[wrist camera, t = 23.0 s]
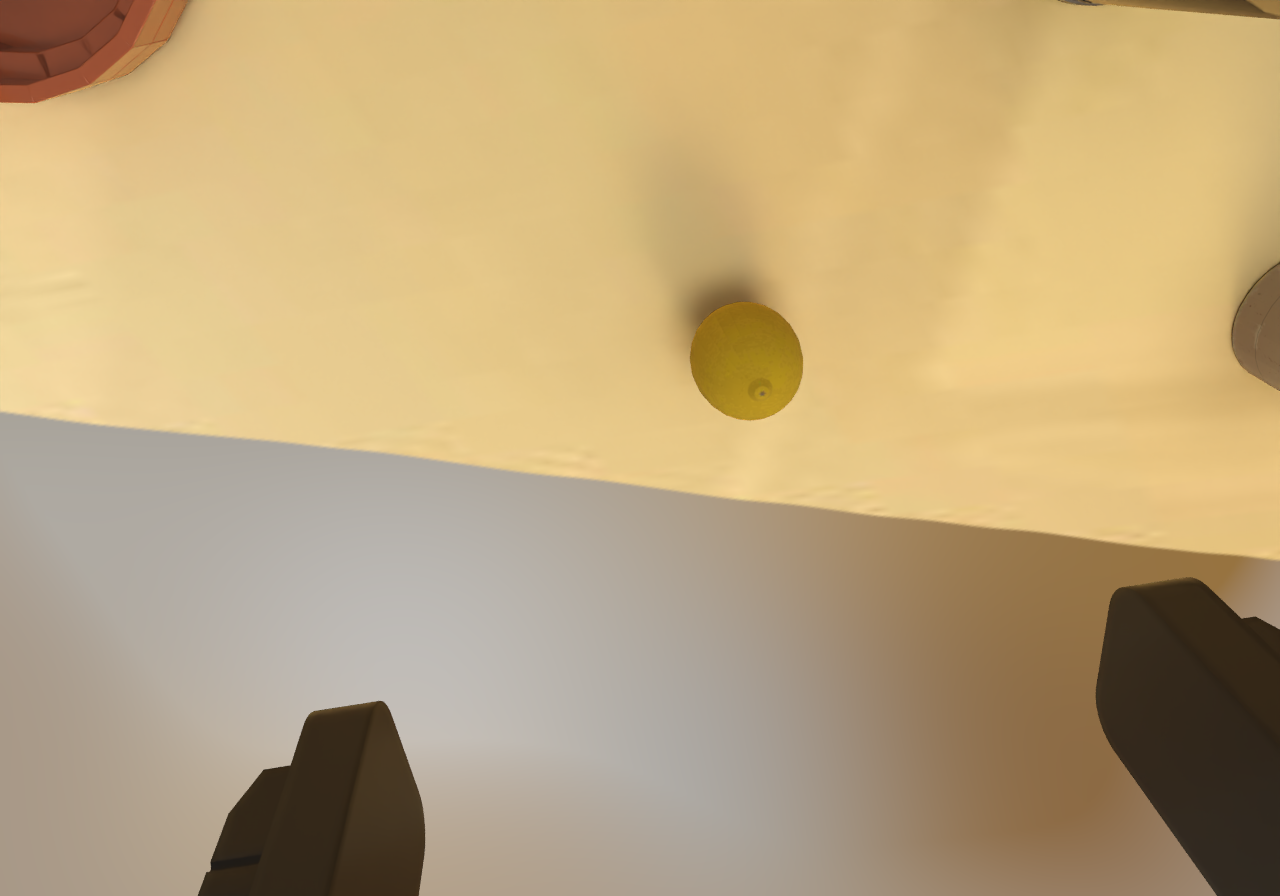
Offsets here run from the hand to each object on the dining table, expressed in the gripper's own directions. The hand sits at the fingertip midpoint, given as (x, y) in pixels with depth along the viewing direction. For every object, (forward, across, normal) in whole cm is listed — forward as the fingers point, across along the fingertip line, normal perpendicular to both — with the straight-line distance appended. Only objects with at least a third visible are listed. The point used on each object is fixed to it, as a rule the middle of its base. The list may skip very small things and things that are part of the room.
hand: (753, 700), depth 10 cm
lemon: (+38, -6, +11) cm, 40 cm away
